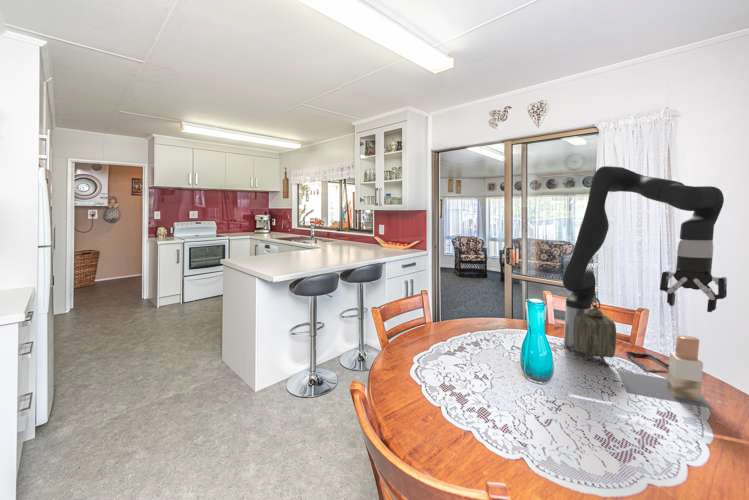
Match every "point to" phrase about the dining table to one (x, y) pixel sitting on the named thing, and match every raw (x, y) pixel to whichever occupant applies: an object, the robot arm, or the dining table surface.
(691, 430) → the dining table surface
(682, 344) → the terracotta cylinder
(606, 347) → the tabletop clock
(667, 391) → the slate mat
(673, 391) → the tower base
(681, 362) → the tower top
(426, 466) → the dining table surface
